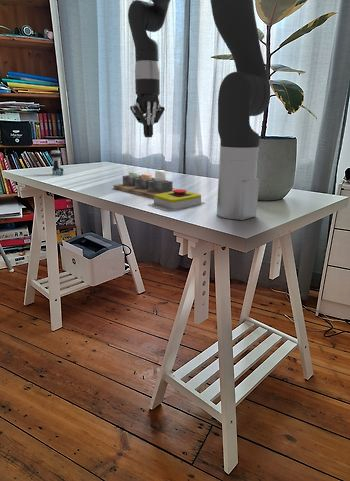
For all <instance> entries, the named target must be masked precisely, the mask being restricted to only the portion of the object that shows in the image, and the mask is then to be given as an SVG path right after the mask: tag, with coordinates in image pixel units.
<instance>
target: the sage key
mask: <svg viewBox="0 0 350 481" xmlns="http://www.w3.org/2000/svg"><path fill="white" fill-rule="evenodd" d="M139 173H140V172H138V171H128V175H129V177H139V175H140V174H139Z"/></svg>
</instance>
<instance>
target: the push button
mask: <svg viewBox="0 0 350 481" xmlns="http://www.w3.org/2000/svg"><path fill="white" fill-rule="evenodd" d="M48 154H49V157H50V158H51V159H52V165H53V166H52V168H51V171H52V175H53V176H55V175H56V176H63V175H64V168H62V166H61V158H62V157H63V152H61V151H60V150H51V151H50V152H49V153H48Z"/></svg>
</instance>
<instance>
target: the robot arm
mask: <svg viewBox="0 0 350 481" xmlns="http://www.w3.org/2000/svg"><path fill="white" fill-rule="evenodd" d="M150 1H151V2H148V1H144V0H133V1H132V2H131V3H130V5H129V8H128V11H127V20H128V25H129V29H130V32H131V36H132V40H133V43H134V44H133V45H134V52H135V56H134V57H135V64H134V78H135V79H134V84H135V86H134V87H135V95H136V100H135V103H134V104H133V105H131V106H130V107H129V109H130V111H131V112H132V115H133V116H134V117H135V119H136V121H137V122H138V123H140V124H142V126H143V127H142V128H143V135H144V137H145V138H152V137H153V135H154V125H155V124H158V123H159V121H160V119H161V117H162V115H163V114H164V111H166V110H165V109H166V108H165V106H162V105H161V104H160V99H159V96H160V93H161V92H160V90H161V89H160V87H161V85H160V83H161V82H160V80H161V79H160V65H159V59H160V58H159V55H160V54H159V44H158V42H157V41H156V40H155V39H153V38H151V37H150V36H149V34H148V32H150V33H156V32H159V30H160V29H162V27H163V26H164V25H165V20H166V17H167V12H168V10H169V7H170V3H171V1H172V0H150ZM209 1H210V7H211V13H212V16H213V17H212V18H213V22H214V25H215V27H216V29H217V31H218V33H219V35H220V37H221V38H222V40H223V42H224V44H225V45H226V46H227V49H228V50H229V52H230V53H231V57H232V59H233V61H234V64H235V65H234V66H235V70H236V71H232V72H230V73H228V74H227V75H225V77H224V78H223V80H222V81H221V82H220V86H219V90H218V96H217V132H218V135H219V140H220V143H219V145H220V146H219V163H218V164H219V165H218V183H217V200H216V201H217V203H216V204H217V205H216V215H217V216H218V217H220V218H224V219H229V220H239V221H245V220H248V219H251V218H254V217H256V216H257V212H258V211H257V209H258V202H259V201H258V200H259V199H258V198H259V188H260V179H259V178H257V174H258V173H257V171H258V159H259V151H260V150H259V149H260V135H259V133H257V132H256V131H255V130H254V129H253V128H252V126H251V123H250V117H257V116H260V115H262V114H263V113H264V112H265V111H266V110H267V108H268V106H269V103H270V100H271V86H270V81H269V80H270V79H269V76H268V73H267V68H266V65H265V61H264V60H265V59H264V58H263V54H262V50H261V49H262V48H261V44H260V38H259V37H260V36H259V32H258V27H257V20H256V13H255V6H254V0H209Z"/></svg>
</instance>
